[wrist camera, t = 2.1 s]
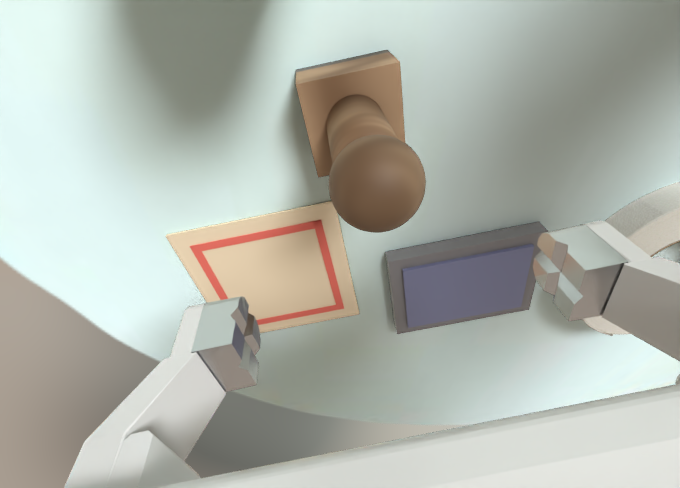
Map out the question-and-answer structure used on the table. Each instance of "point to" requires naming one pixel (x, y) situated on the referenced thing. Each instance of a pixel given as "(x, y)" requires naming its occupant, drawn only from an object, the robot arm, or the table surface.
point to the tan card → (274, 265)
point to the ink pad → (463, 277)
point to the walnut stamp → (362, 139)
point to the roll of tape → (645, 232)
